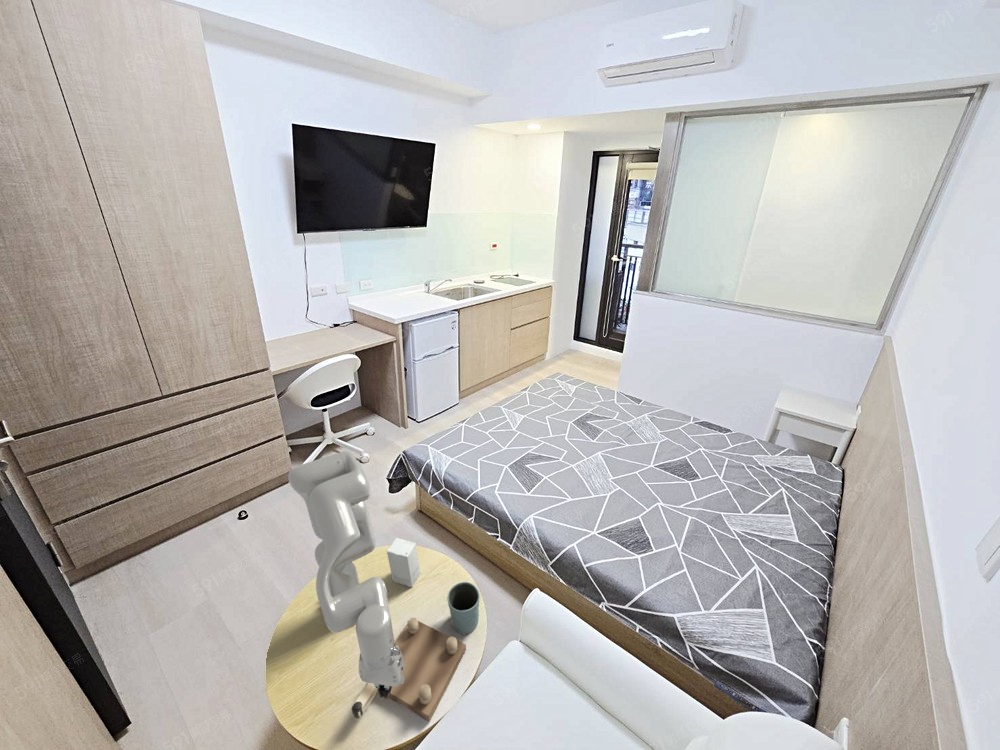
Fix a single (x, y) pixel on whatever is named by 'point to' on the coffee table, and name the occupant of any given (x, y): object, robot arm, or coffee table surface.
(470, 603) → the teal cup
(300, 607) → the coffee table surface
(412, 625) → the stool seat
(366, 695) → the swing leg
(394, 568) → the skincare box
